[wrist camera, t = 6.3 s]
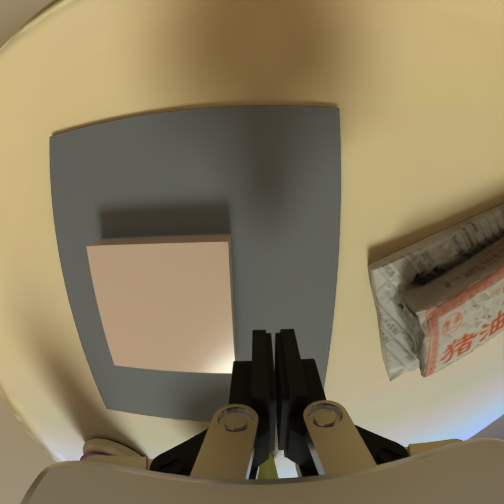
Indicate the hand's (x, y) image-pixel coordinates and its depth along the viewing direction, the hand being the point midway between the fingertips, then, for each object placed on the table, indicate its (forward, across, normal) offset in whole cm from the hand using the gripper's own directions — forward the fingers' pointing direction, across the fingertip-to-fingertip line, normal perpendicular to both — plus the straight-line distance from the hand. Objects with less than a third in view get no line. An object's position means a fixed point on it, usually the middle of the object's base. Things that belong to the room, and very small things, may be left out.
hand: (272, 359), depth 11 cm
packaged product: (+7, -16, 0) cm, 18 cm away
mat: (+6, +5, 0) cm, 8 cm away
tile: (+5, +2, 0) cm, 5 cm away
